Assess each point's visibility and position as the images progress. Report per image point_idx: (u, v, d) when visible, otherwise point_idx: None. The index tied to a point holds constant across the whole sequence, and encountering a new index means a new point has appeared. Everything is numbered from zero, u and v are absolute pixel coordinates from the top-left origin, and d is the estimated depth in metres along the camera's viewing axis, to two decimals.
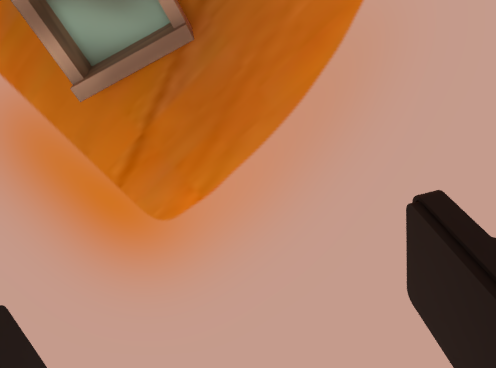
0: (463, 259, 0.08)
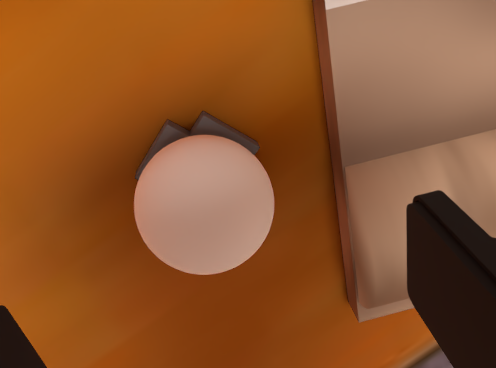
0: (463, 259, 0.08)
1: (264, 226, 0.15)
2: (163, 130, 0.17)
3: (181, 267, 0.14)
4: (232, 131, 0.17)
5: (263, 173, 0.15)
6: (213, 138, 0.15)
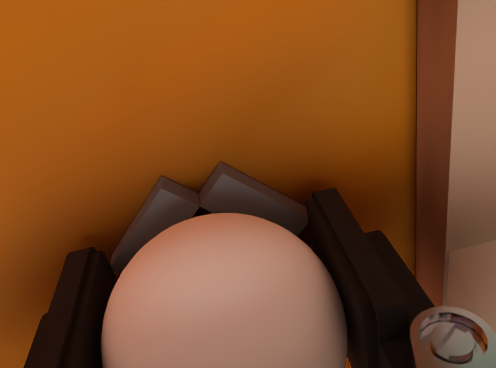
0: (333, 249, 0.08)
1: None
2: (154, 197, 0.10)
3: None
4: (268, 196, 0.10)
5: (333, 292, 0.08)
6: (244, 230, 0.08)
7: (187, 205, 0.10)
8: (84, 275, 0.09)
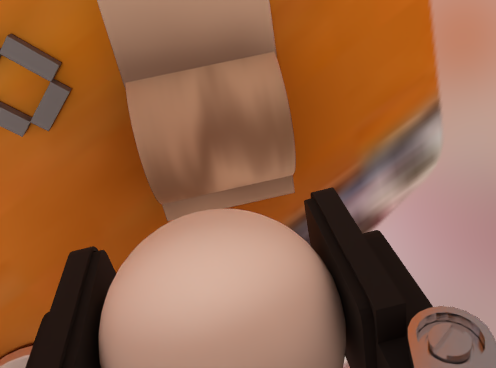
0: (332, 249, 0.08)
1: None
2: None
3: None
4: (34, 50, 0.22)
5: (331, 287, 0.08)
6: (241, 225, 0.08)
7: None
8: (85, 274, 0.09)
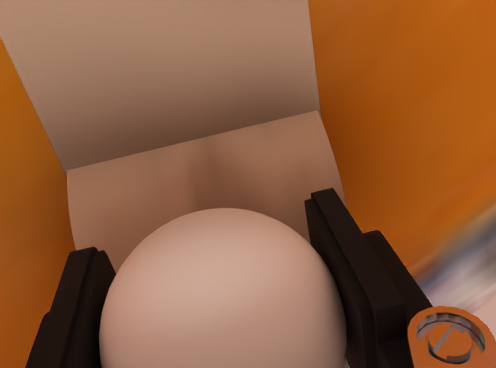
0: (332, 249, 0.08)
1: None
2: None
3: None
4: None
5: (332, 287, 0.08)
6: (242, 225, 0.08)
7: None
8: (86, 274, 0.09)
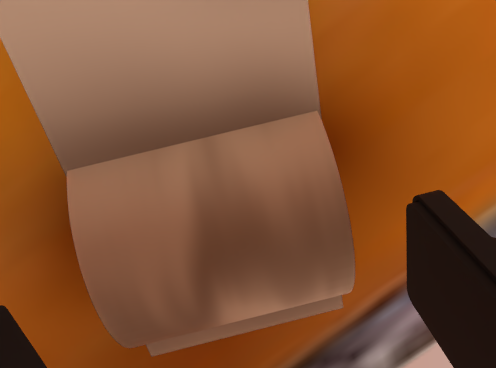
0: (463, 259, 0.08)
1: None
2: None
3: None
4: None
5: None
6: None
7: None
8: None
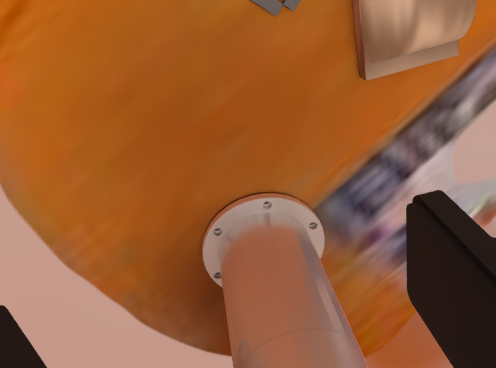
0: (463, 259, 0.08)
1: None
2: None
3: None
4: None
5: None
6: None
7: None
8: None
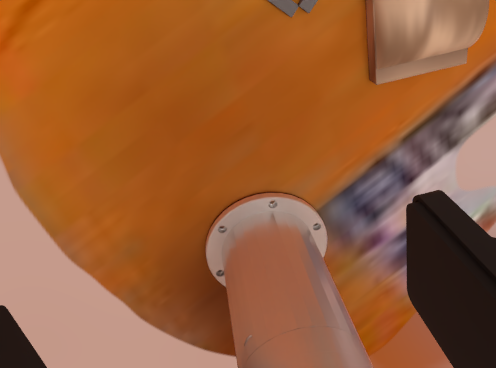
0: (463, 259, 0.08)
1: None
2: None
3: None
4: None
5: None
6: None
7: None
8: None
